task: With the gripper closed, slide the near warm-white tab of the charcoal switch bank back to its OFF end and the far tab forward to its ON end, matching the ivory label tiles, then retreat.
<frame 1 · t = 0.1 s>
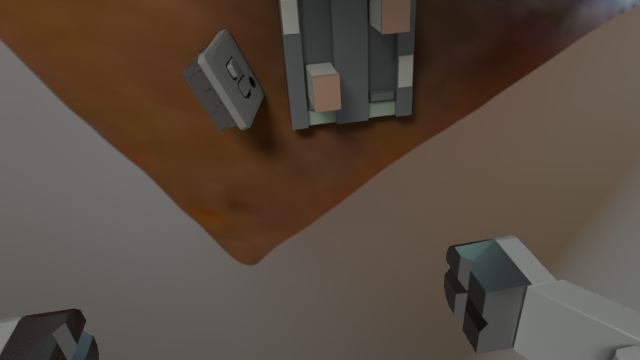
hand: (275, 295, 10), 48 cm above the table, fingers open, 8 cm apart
electrical switch: (228, 73, 55), on the table
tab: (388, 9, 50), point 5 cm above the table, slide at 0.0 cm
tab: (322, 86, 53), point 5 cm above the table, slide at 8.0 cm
switch bank: (346, 40, 55), on the table
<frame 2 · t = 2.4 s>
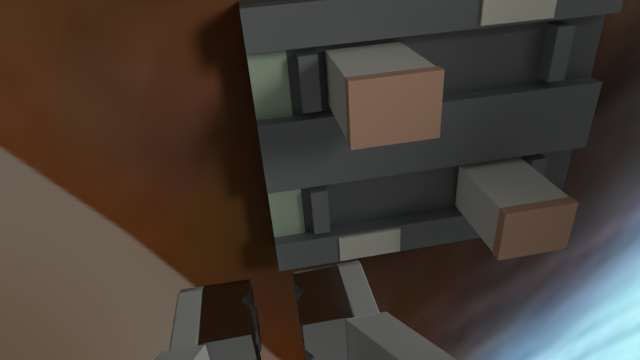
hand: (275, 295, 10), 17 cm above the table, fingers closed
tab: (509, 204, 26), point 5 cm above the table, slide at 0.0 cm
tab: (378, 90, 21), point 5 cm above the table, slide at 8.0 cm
switch bank: (419, 121, 28), on the table
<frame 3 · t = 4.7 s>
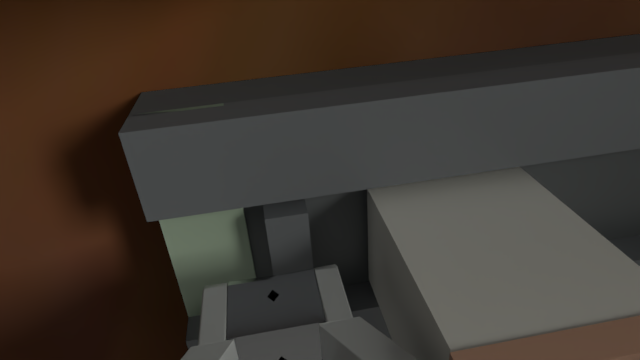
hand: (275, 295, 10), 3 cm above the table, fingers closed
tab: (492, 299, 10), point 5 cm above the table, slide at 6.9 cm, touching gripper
switch bank: (490, 274, 16), on the table
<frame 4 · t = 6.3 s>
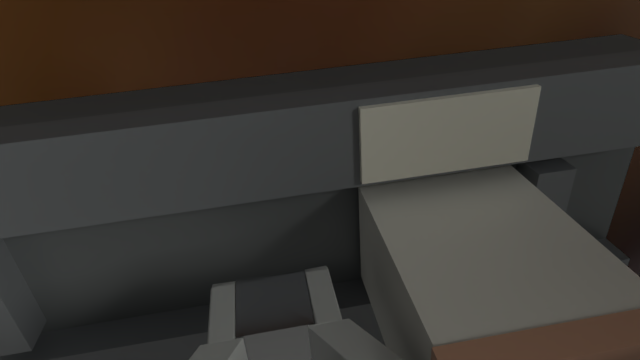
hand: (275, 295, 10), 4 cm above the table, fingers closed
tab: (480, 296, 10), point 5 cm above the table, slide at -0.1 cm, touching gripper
switch bank: (290, 305, 15), on the table
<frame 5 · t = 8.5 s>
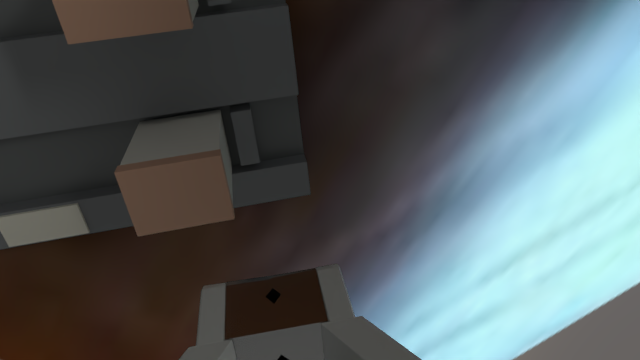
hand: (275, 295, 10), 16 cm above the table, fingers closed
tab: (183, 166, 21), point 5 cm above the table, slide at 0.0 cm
switch bank: (89, 68, 22), on the table
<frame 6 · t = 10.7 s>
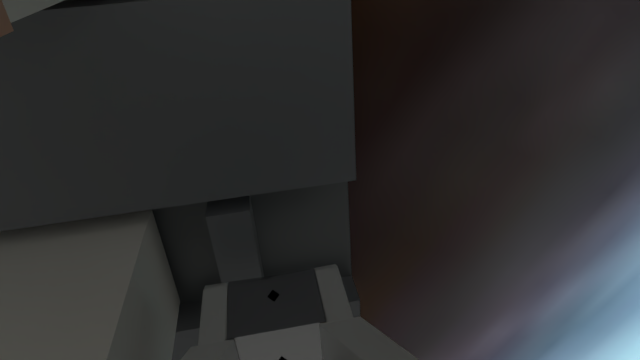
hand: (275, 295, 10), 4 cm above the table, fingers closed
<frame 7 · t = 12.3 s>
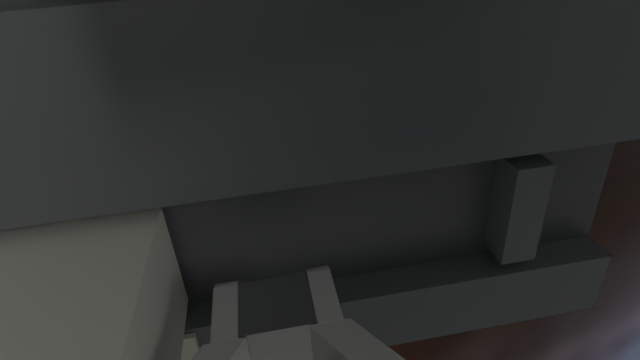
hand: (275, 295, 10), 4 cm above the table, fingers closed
switch bank: (234, 71, 11), on the table
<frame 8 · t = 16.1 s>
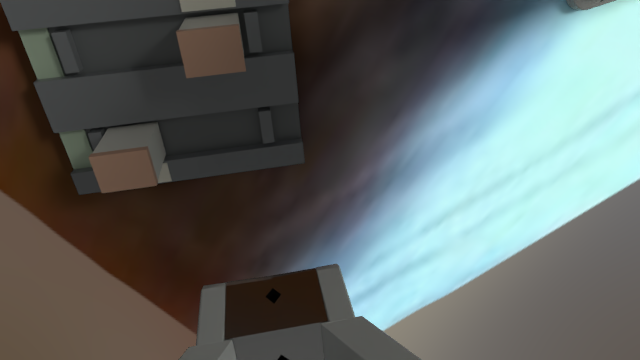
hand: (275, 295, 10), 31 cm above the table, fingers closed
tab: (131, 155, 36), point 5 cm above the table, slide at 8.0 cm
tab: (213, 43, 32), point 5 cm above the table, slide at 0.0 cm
switch bank: (177, 83, 38), on the table
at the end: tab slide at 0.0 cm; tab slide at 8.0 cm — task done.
